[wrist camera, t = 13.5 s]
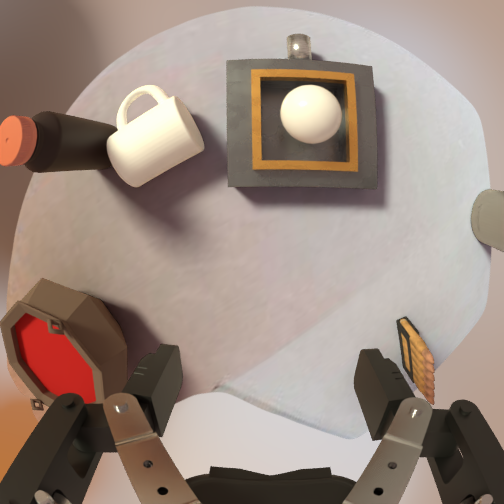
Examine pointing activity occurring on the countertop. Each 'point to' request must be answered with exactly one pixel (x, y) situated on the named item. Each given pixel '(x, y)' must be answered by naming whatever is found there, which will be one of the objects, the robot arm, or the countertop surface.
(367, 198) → the countertop surface
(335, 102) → the lightbulb
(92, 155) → the bottle
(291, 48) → the grey shallow box
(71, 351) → the brown cauldron
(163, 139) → the mug
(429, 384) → the ammunition clip
